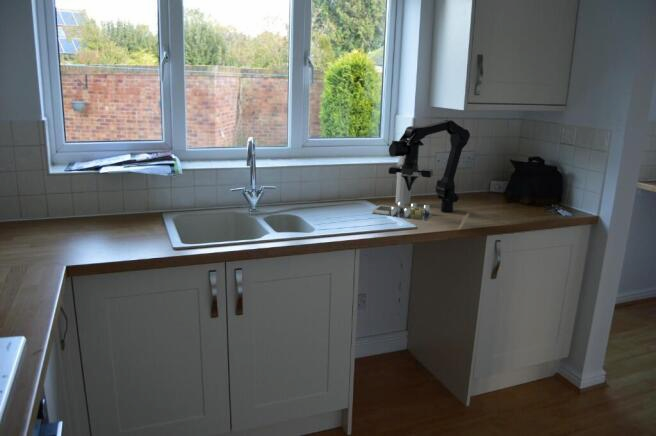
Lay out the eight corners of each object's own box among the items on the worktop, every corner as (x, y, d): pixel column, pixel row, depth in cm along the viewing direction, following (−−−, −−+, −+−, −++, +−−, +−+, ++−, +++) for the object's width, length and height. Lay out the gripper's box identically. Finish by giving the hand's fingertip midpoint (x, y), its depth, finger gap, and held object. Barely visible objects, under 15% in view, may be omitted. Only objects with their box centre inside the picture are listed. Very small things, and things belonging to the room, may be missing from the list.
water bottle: (413, 206, 256) (417, 155, 250) (399, 207, 253) (402, 155, 247) (404, 202, 264) (407, 152, 258) (390, 202, 262) (393, 153, 255)
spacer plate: (379, 209, 248) (380, 199, 247) (432, 216, 239) (433, 205, 238) (371, 215, 236) (371, 205, 235) (426, 222, 227) (427, 211, 226)
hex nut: (409, 216, 233) (409, 209, 233) (412, 213, 238) (412, 207, 238) (420, 217, 232) (420, 211, 231) (422, 214, 237) (423, 208, 236)
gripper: (386, 156, 226) (384, 191, 230) (429, 160, 219) (426, 196, 223) (392, 153, 236) (390, 187, 240) (434, 156, 229) (431, 191, 233)
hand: (409, 190), depth 234 cm, fingers closed
